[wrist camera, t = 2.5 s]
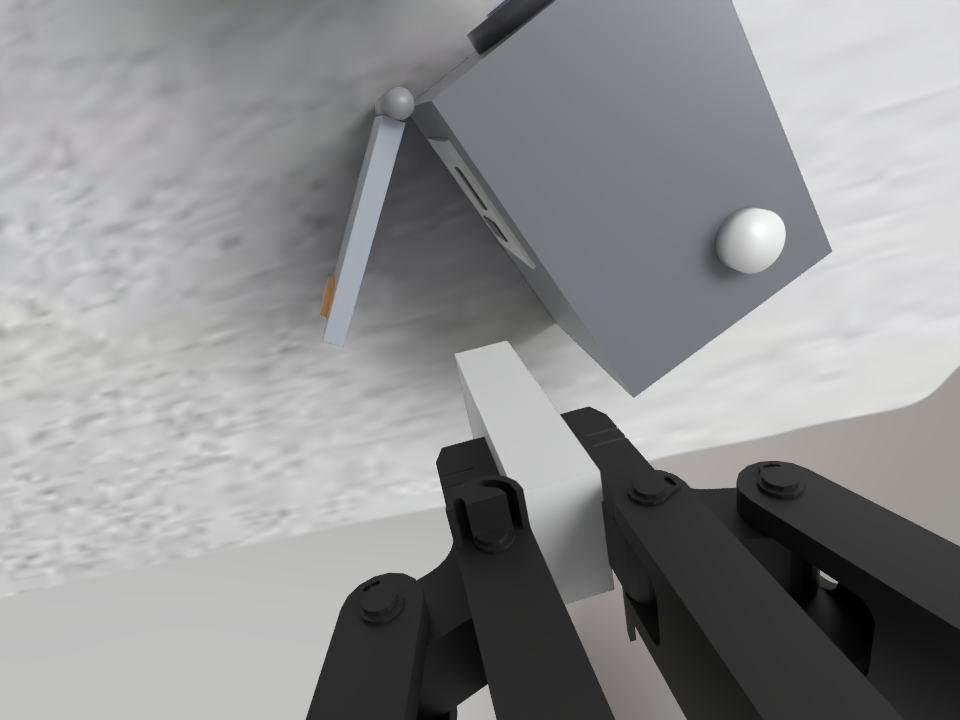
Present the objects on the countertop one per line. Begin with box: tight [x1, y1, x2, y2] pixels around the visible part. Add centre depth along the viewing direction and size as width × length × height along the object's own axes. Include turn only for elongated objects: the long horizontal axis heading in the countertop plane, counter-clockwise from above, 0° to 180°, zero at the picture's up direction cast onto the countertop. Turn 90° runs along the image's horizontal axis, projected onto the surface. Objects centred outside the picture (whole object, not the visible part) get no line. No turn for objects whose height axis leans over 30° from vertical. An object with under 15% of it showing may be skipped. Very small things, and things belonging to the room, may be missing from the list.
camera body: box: [410, 0, 832, 398], centre depth 25 cm, size 15×10×11 cm
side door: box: [320, 87, 415, 347], centre depth 24 cm, size 10×1×8 cm, turn 161°
